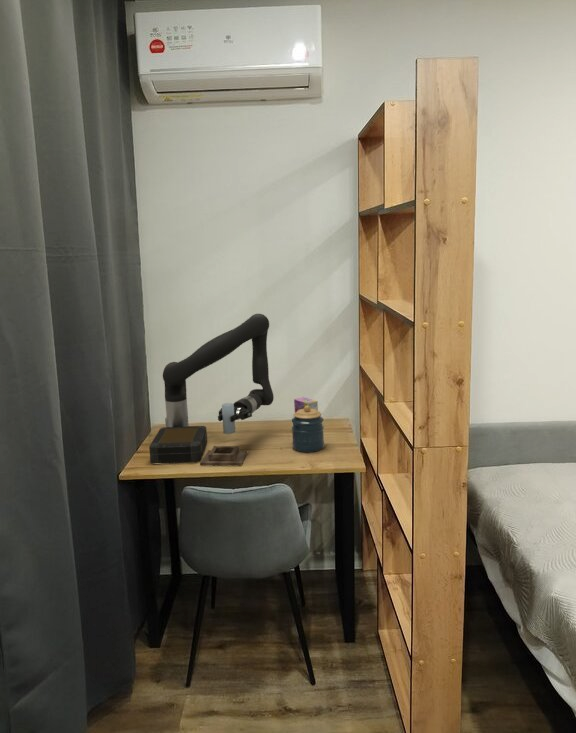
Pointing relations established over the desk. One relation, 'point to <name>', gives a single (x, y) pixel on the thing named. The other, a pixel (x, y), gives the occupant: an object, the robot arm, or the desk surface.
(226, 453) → the holder
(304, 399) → the box
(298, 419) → the canister
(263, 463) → the desk surface
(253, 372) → the robot arm
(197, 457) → the cash box
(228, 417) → the cylinder
